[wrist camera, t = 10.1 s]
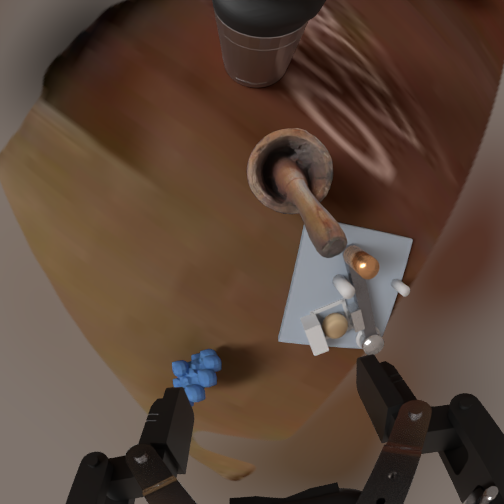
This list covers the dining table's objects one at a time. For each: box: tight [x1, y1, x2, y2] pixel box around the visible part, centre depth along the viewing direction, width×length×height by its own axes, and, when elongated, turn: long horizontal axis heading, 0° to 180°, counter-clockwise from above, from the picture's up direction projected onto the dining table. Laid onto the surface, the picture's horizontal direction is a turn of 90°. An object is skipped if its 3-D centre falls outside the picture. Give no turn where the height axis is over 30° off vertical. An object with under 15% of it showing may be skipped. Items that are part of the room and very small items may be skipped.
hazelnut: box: [322, 313, 348, 339], centre depth 44 cm, size 4×4×4 cm
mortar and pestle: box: [247, 128, 347, 258], centre depth 32 cm, size 12×9×20 cm
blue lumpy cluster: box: [172, 349, 222, 407], centre depth 43 cm, size 12×7×12 cm, turn 138°
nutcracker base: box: [278, 222, 413, 356], centre depth 43 cm, size 20×18×6 cm
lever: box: [342, 243, 384, 355], centre depth 41 cm, size 19×4×8 cm, turn 20°
